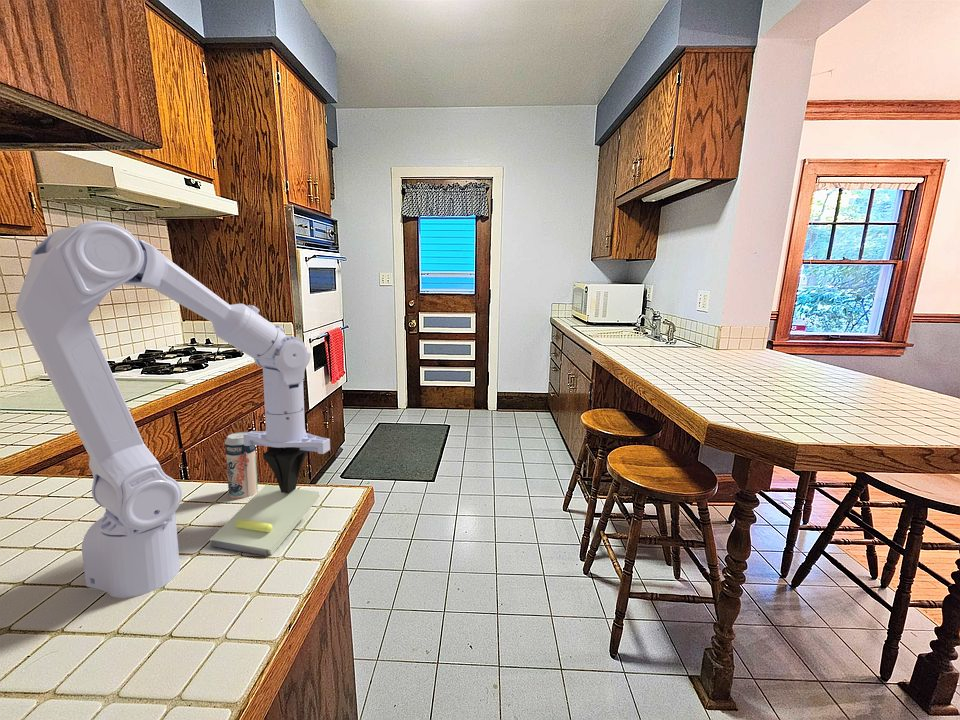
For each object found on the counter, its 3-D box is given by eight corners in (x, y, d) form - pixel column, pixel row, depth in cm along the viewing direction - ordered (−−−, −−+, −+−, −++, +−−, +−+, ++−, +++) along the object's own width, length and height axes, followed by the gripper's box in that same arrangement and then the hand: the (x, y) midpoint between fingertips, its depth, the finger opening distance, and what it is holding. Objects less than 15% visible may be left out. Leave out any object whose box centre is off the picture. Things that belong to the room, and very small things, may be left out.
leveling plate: (208, 547, 60) (204, 535, 59) (267, 489, 71) (264, 479, 70) (269, 557, 58) (265, 546, 57) (319, 496, 69) (317, 486, 68)
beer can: (222, 501, 75) (217, 437, 74) (245, 490, 80) (242, 429, 78) (241, 506, 74) (237, 441, 72) (264, 495, 78) (261, 433, 76)
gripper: (339, 407, 69) (341, 484, 71) (263, 401, 72) (267, 475, 74) (313, 418, 63) (316, 504, 64) (231, 411, 66) (236, 493, 68)
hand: (288, 490), depth 69 cm, fingers closed
